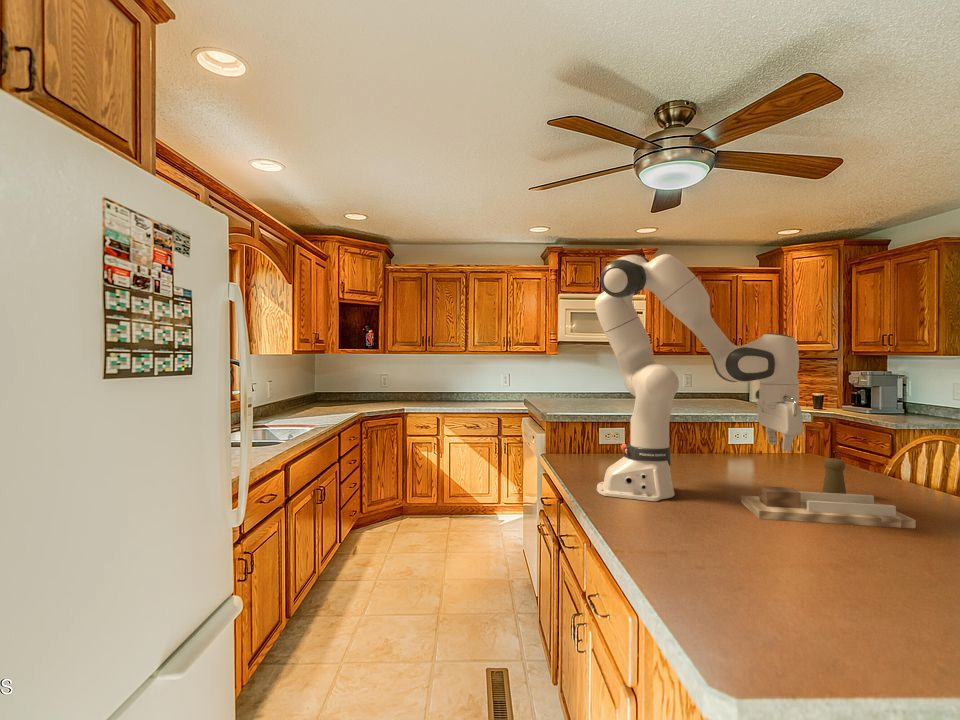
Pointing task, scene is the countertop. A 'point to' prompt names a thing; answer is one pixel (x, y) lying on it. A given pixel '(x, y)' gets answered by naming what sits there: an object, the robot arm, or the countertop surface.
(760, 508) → the board
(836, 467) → the cork
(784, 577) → the countertop surface
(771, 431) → the robot arm
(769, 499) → the walnut block
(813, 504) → the channel walls
